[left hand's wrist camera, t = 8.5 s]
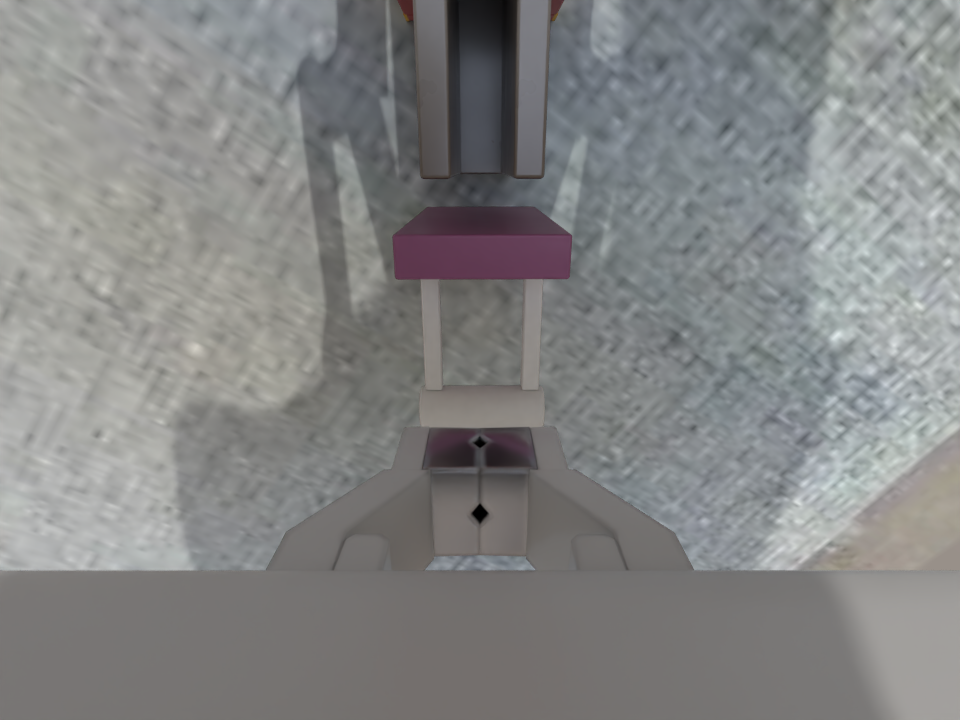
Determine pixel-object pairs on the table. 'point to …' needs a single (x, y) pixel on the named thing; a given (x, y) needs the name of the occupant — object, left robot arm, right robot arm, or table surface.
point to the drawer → (482, 150)
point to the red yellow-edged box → (407, 8)
